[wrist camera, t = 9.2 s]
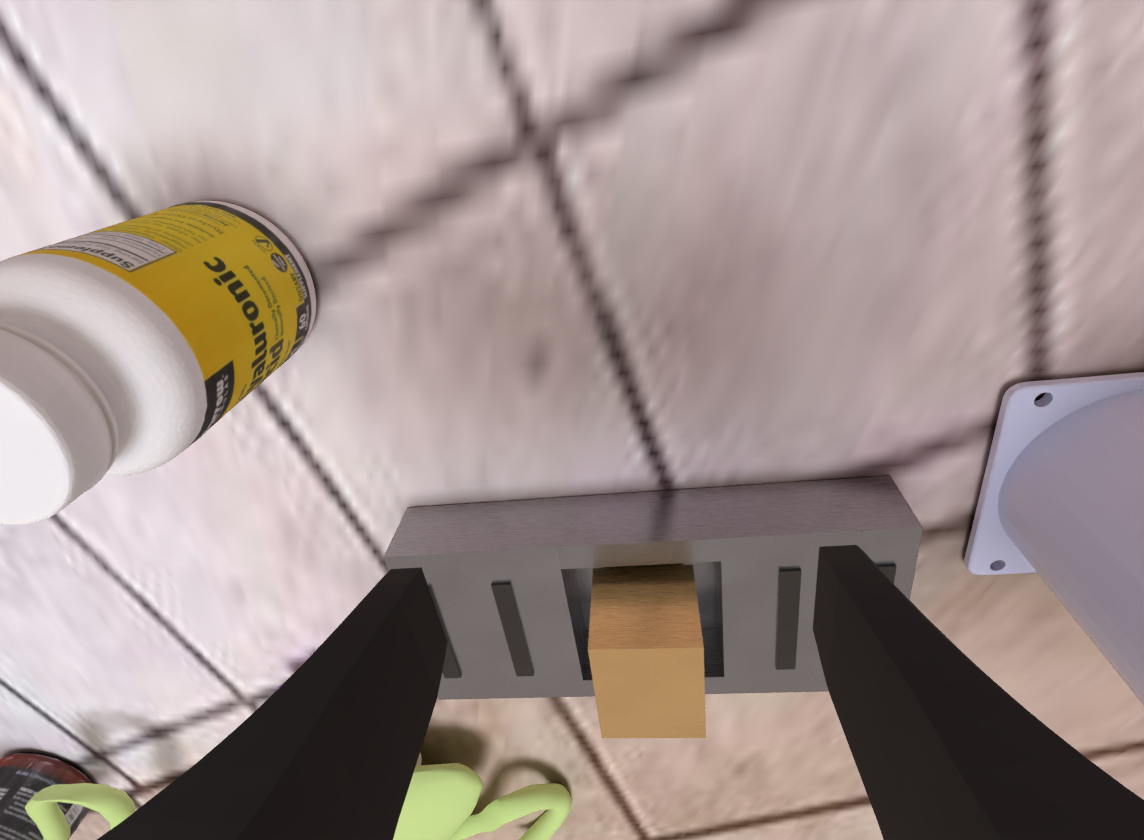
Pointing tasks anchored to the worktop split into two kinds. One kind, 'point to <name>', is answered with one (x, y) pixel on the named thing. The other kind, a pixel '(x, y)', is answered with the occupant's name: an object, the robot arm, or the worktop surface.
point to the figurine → (423, 828)
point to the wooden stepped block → (647, 652)
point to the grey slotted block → (645, 537)
